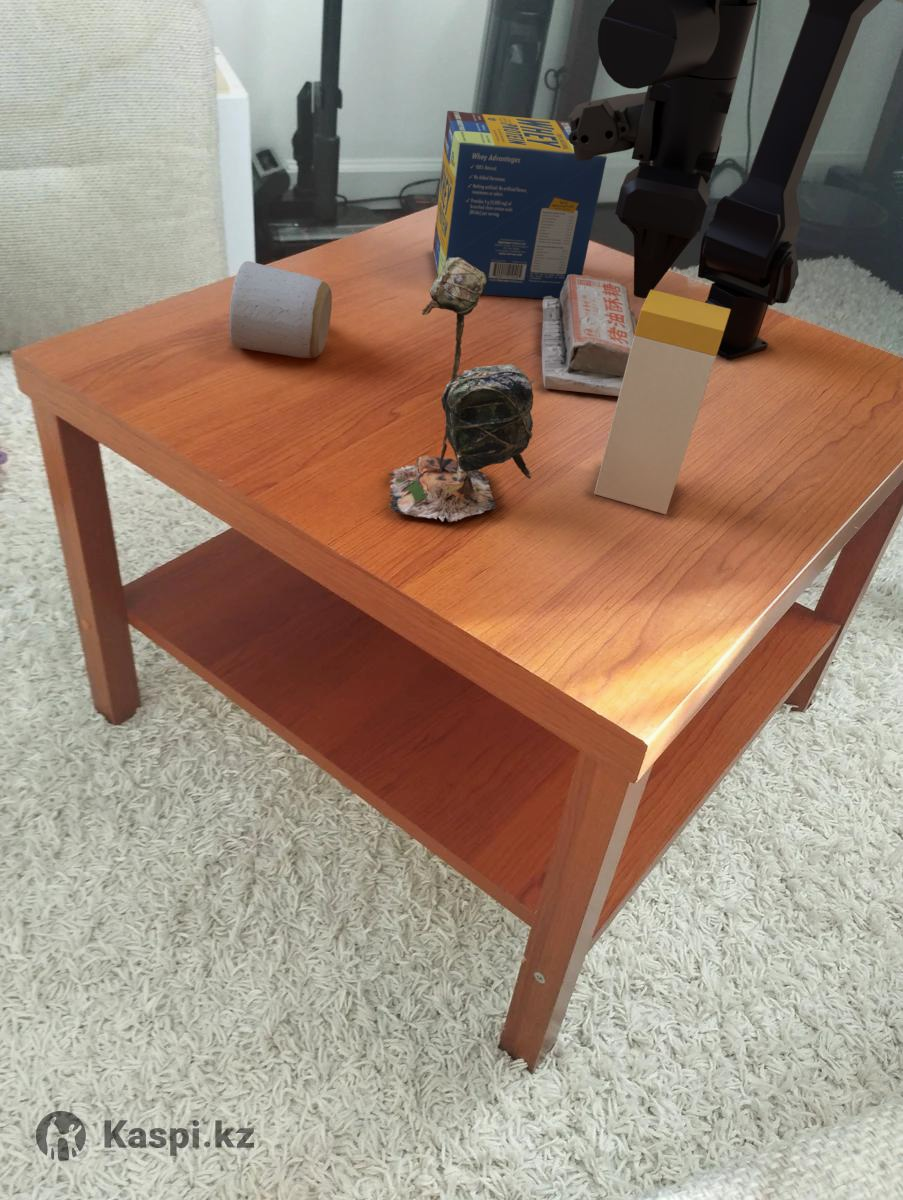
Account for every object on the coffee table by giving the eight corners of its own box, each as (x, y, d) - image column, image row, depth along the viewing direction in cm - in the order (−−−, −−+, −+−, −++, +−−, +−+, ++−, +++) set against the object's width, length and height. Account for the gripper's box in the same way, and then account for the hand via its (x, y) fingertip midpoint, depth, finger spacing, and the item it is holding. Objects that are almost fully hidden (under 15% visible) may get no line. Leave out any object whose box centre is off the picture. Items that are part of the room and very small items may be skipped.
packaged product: (548, 264, 103) (642, 277, 103) (539, 308, 106) (631, 321, 107) (550, 343, 89) (659, 358, 90) (541, 391, 93) (646, 405, 93)
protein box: (430, 253, 114) (445, 109, 104) (560, 262, 116) (587, 122, 106) (439, 293, 106) (456, 141, 96) (579, 302, 109) (610, 154, 99)
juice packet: (604, 469, 84) (650, 288, 73) (673, 489, 83) (731, 308, 72) (593, 494, 81) (640, 309, 70) (665, 515, 80) (724, 330, 69)
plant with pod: (524, 540, 75) (576, 287, 62) (375, 517, 75) (397, 260, 62) (528, 480, 81) (576, 239, 68) (391, 459, 81) (413, 214, 68)
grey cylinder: (318, 374, 90) (320, 293, 85) (228, 361, 90) (226, 279, 85) (338, 325, 98) (341, 248, 93) (255, 313, 98) (255, 235, 93)
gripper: (608, 24, 80) (571, 217, 90) (567, 77, 66) (529, 298, 77) (745, 49, 79) (692, 243, 89) (733, 109, 65) (672, 330, 75)
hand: (647, 275), depth 82 cm, fingers open, 9 cm apart
